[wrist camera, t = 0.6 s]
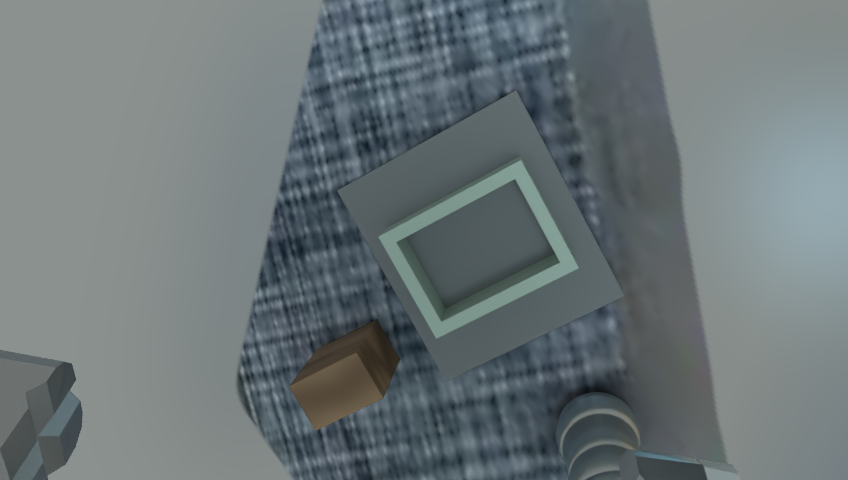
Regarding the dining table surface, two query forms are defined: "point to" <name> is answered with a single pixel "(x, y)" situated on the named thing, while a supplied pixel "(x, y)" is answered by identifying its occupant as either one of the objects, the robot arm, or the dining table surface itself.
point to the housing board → (481, 238)
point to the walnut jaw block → (346, 375)
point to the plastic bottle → (596, 436)
